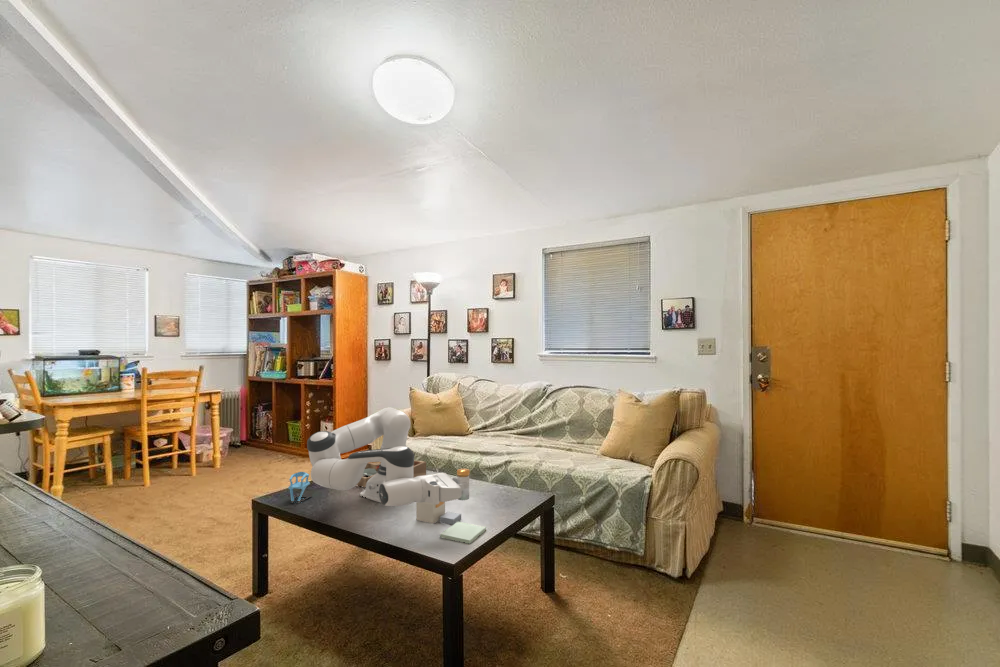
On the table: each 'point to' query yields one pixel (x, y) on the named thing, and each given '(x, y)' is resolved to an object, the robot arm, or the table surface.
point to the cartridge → (463, 477)
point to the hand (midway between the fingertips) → (465, 482)
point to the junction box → (429, 511)
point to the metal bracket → (369, 472)
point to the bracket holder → (419, 468)
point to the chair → (298, 484)
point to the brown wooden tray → (365, 479)
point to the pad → (463, 532)
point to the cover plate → (450, 518)
